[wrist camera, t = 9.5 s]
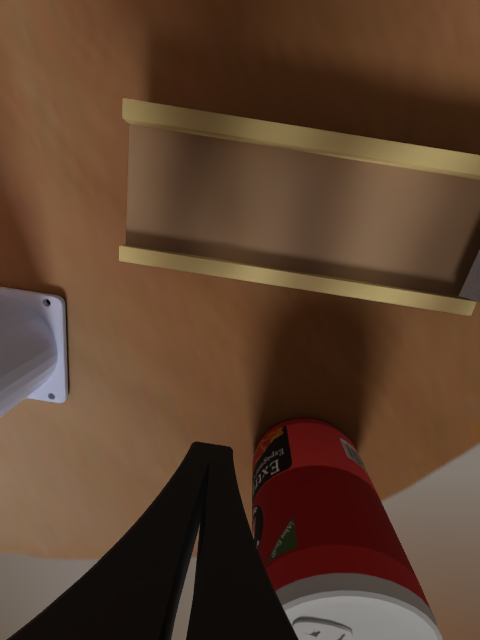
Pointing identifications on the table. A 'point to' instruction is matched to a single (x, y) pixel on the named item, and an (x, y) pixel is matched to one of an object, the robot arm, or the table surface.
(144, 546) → the robot arm
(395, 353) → the table surface
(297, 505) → the canned food
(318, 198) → the wooden channel tray
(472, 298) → the grey block with knob
